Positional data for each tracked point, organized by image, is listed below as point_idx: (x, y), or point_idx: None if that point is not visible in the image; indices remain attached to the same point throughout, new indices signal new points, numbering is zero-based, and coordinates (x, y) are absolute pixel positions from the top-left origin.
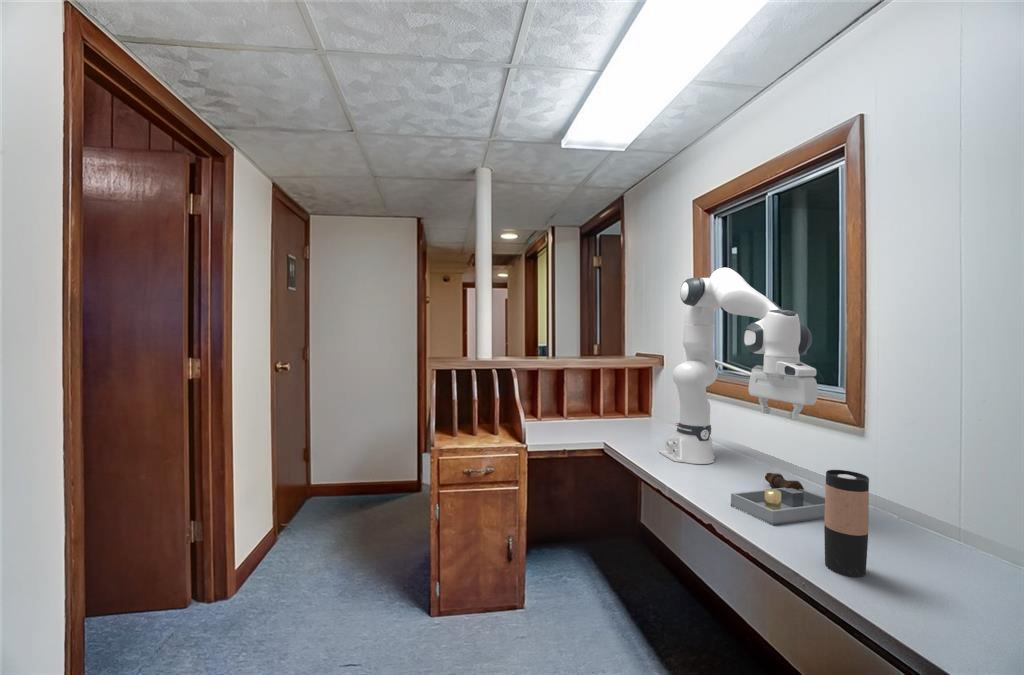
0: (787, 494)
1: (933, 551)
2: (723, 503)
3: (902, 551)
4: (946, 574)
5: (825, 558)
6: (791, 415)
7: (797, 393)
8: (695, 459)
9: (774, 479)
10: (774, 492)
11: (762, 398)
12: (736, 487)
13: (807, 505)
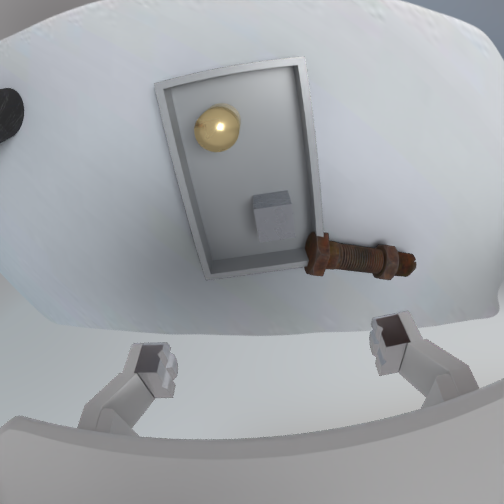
0: (269, 204)
1: (74, 283)
2: (319, 52)
3: (65, 243)
4: (14, 239)
5: (4, 89)
6: (143, 359)
7: (26, 487)
8: None
9: (382, 255)
10: (206, 128)
11: (442, 397)
12: (415, 170)
13: None
